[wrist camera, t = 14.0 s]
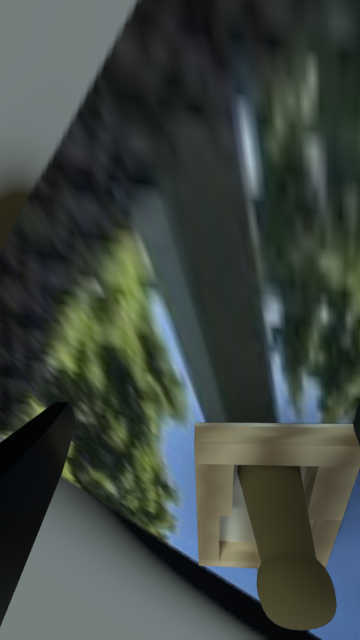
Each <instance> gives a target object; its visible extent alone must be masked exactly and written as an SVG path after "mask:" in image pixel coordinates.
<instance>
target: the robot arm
mask: <svg viewBox="0 0 360 640" xmlns="http://www.w3.org/2000/svg"><path fill="white" fill-rule="evenodd" d="M75 425H76V420H75V416H74V412H73V409H72V405H71V403H70V402H69V401H57V402H55V403H54V404H52V405H51V406H49V407H48V408H47V409H45V410H44V411H43V412H41V413H40V414H39V415H37V416H36V417H34V418H33V419H32V420H30V421H29V422H28V423H26V424H25V425H24V426H22V427H21V428H19V429H18V430H17V431H15V432H14V433H13V434H11V435H10V436H9V437H7V438H6V439H4V440H3V441H2V442H0V626H1V624H2V621H3V619H4V616H5V614H6V611H7V609H8V606H9V604H10V601H11V599H12V596H13V594H14V591H15V589H16V586H17V584H18V581H19V579H20V576H21V574H22V571H23V569H24V566H25V564H26V561H27V559H28V557H29V554H30V552H31V549H32V547H33V544H34V542H35V539H36V537H37V534H38V532H39V529H40V527H41V524H42V521H43V519H44V517H45V514H46V512H47V509H48V507H49V504H50V502H51V499H52V497H53V494H54V492H55V489H56V487H57V484H58V482H59V479H60V477H61V474H62V471H63V468H64V465H65V461H66V458H67V454H68V451H69V447H70V444H71V440H72V437H73V433H74V430H75ZM353 428H354V432H355V434H356V437H357V440H358V443H359V446H360V404H359V406H358V409H357V412H356V415H355V419H354V423H353Z"/></svg>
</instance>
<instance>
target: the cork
mask: <svg viewBox="0 0 360 640" xmlns="http://www.w3.org/2000/svg"><path fill="white" fill-rule="evenodd" d="M237 474H238V477H239V481H240V485H241V489H242V492H243V496H244V500H245V504H246V507H247V511H248V515H249V519H250V522H251V526H252V530H253V534H254V537H255V541H256V545H257V549H258V552H259V556H260V560H261V564H260V567H259V569H258V573H257V591H258V596H259V599H260V602H261V605H262V607H263V610H264V611H265V613H266V614H267V616H268V618H269V619H271V620H272V621H273V622H274V623H276V624H277V625H279V626H282V627H285V628H289V629H295V630H310V629H316V628H319V627H322V626H325V625H326V624H327V623H329V622H330V621H331V620H332V619H333V617H334V615H335V611H336V605H337V604H336V596H335V590H334V586H333V583H332V580H331V578H330V576H329V574H328V572H327V570H326V568H325V567H324V566H323V565H322V564H321V563H320V562H319V561H318V560H317V559H316V553H315V548H314V542H313V537H312V531H311V526H310V520H309V515H308V509H307V504H306V498H305V493H304V487H303V482H302V476H301V471H300V466H276V465H238V469H237Z"/></svg>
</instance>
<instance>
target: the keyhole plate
mask: <svg viewBox="0 0 360 640" xmlns="http://www.w3.org/2000/svg"><path fill="white" fill-rule="evenodd" d="M194 447H195V473H196V500H197V526H198V552H199V566H219V567H241V568H259V567H260V564H261V560H260V556H259V552H258V549H257V545H256V541H255V537H254V534H253V530H252V526H251V522H250V519H249V515H248V511H247V507H246V504H245V500H244V496H243V492H242V489H241V485H240V481H239V477H238V474H237V469H238V465H276V466H300V471H301V476H302V482H303V487H304V493H305V498H306V504H307V509H308V515H309V520H310V526H311V531H312V537H313V542H314V548H315V553H316V559H317V560H318V561H319V562H320V563H321V564H322V565H323V566H324V567H325V568H326V566H327V563H328V560H329V557H330V554H331V551H332V548H333V545H334V542H335V539H336V536H337V533H338V530H339V527H340V525H341V522H342V519H343V516H344V513H345V510H346V507H347V504H348V501H349V498H350V495H351V492H352V489H353V486H354V483H355V480H356V478H357V475H358V472H359V469H360V446H359V443H358V440H357V437H356V434H355V432H354V428H353V424H298V423H196V422H195V439H194Z"/></svg>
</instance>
